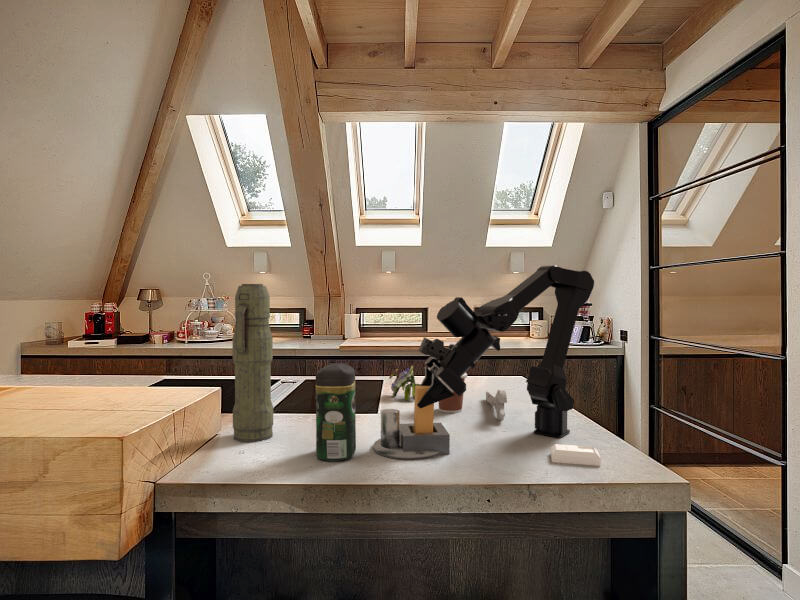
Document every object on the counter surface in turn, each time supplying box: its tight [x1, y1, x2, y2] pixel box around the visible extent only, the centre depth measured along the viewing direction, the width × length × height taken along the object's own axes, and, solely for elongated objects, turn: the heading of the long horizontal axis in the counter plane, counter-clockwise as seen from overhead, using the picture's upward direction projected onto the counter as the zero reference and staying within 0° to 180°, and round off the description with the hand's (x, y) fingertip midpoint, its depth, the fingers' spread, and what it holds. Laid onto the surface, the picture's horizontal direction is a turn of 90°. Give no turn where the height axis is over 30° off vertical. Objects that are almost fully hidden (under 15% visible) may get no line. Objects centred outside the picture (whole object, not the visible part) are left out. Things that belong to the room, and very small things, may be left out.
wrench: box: [485, 389, 508, 421], centre depth 142 cm, size 8×2×30 cm
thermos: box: [232, 283, 274, 443], centre depth 117 cm, size 9×12×35 cm
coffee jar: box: [314, 362, 357, 462], centre depth 104 cm, size 10×8×19 cm
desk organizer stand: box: [373, 408, 451, 461], centre depth 109 cm, size 15×15×8 cm
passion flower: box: [388, 365, 421, 402], centre depth 160 cm, size 11×11×12 cm
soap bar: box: [550, 443, 602, 467], centre depth 102 cm, size 5×9×3 cm, turn 76°
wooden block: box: [413, 386, 435, 433], centre depth 109 cm, size 4×4×12 cm
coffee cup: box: [437, 372, 468, 414], centre depth 143 cm, size 9×9×12 cm
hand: (416, 403), depth 109 cm, fingers open, 6 cm apart
